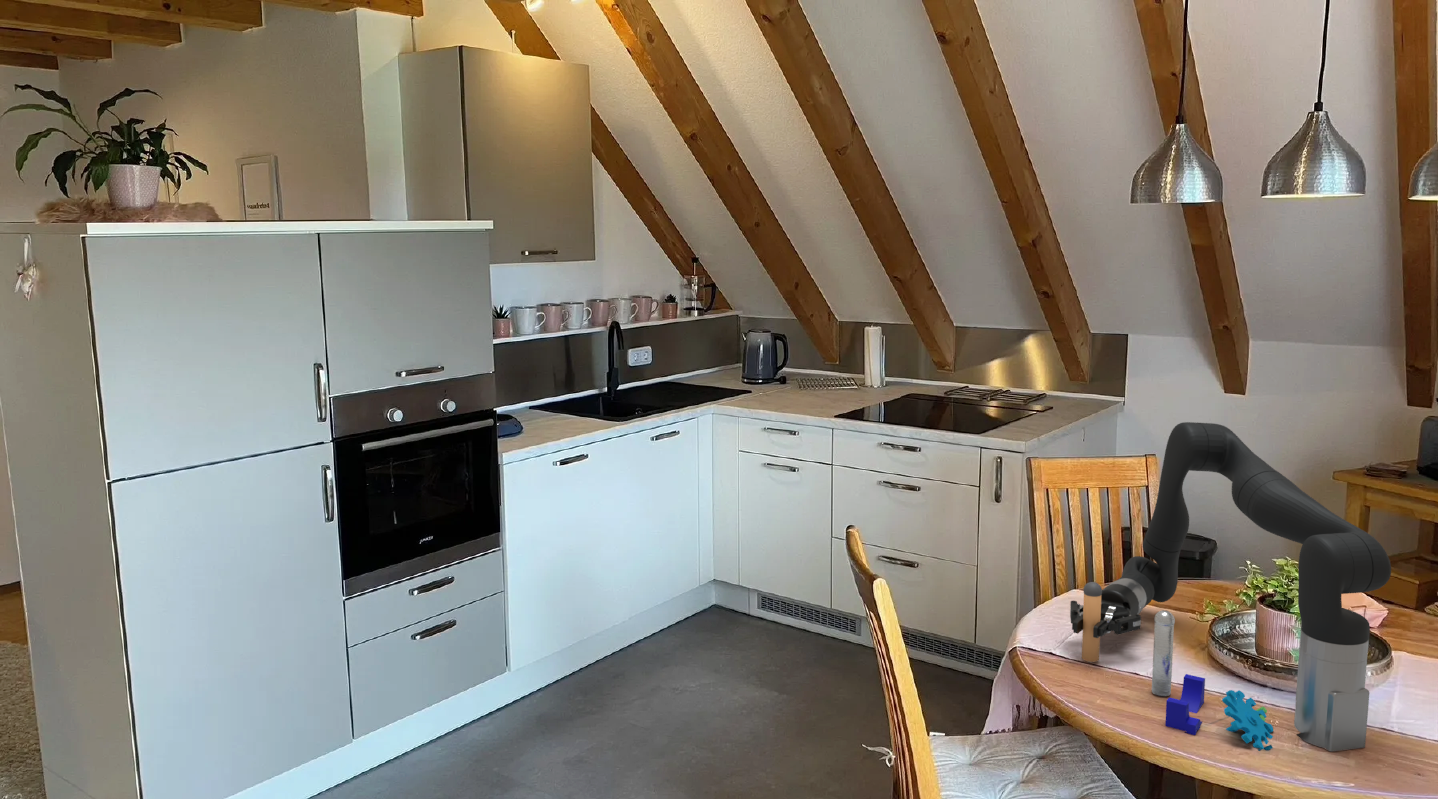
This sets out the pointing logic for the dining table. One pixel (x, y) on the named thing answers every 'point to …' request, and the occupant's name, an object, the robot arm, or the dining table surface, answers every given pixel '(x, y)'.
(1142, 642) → the dining table surface
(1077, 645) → the dining table surface
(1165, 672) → the fixed leg
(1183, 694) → the cable clip
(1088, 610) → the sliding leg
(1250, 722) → the gear
